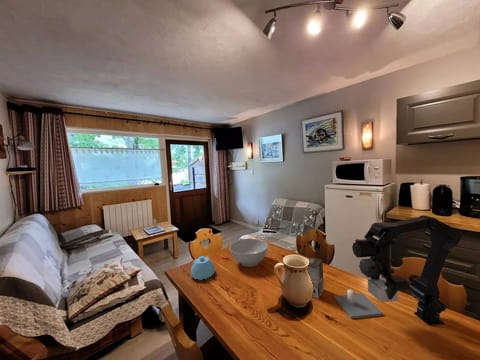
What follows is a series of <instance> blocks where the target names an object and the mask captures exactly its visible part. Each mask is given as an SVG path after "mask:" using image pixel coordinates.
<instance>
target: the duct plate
mask: <svg viewBox="0 0 480 360" xmlns="http://www.w3.org/2000/svg"><path fill="white" fill-rule="evenodd" d="M346 293H347V294H344V295H335V296H334V299H335V301H336V303H338V304H339V305H340V307H341V308H342V309H343V311H344V312H345V313H346V314H347V316H348V317H349V318H350V319H351V320H352V319H360V318H371V317H380V316H384V313H383V311H381V310H380V308H378V307H377V306H376V305H375V304H374V303H373V302H372V301H371V300H370V299H369V298H368V297H367V296H366V295H365V294H364V293H356V291H355V290H353V289H347V291H346Z"/></svg>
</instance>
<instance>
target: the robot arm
mask: <svg viewBox="0 0 480 360" xmlns="http://www.w3.org/2000/svg"><path fill="white" fill-rule="evenodd" d="M425 229H426V230H428V231H429V236H428V237H429V239H430V243H431V246H430V249H429V251H428V254H427V256H426V259H425V261H424V262H425V263H424V265H423V267H422V270H421V274H420V276H419V277H417V278H411V280H410V282H409V281H408V280H407V279H405V278H404V277H402V276H400V275H393V274H394V273H395V270H394V269H393V268H392V263H393V264H394V263H395V260H394V259H393V258H392V246H397V245H398V244H397V243H396V242H395V241H394V240H395V239H397V238H399V236H400V235H403V234H408V233H412V232H416V231H417V232H418V231H420V230H425ZM375 237H376V238H375ZM462 237H463V233H462V232H461V230H460V229H459V228H458V227H454V226H451V225H448V224H446V223H445V222H442V221H440V220H439V219H437V218H436V217H432V216H429V215H425V214H423V215H419V216H415V217H412V218H408V219H402V220H398V221H394V222H387V221H385V222H383V221H381V222H380V221H379V222H373V223H372V224H371V226H370V228H369V229H368V231H367V232H366V234H365V235H364V237H363V239H359V238H358V239H355V240H354V242H353V243H352V246H351V249H352V252H353V254H354V256H355V257H356V258H362V259H360V261H359V264H358V267H359V269H360V272H361V274H363V275H364V276H365V277H366V278H368V279H369V278H370V279H378V278H381V276H383V278H385V279H386V283H384V284H385V285H386V286H387V292H388V299H392V298H393V297H394V295H395V294H396V293H397V291H398V292H399V291H405V290H406V291H407V290H409V292H410V294H411V295H412V297H413V298H414V299H416V300H417V306H416V311H414V312H413V314H415V316H416V317H417V318H419V319H420V320H422V321H423V322H424V323H425V324H427V325H428V326H435V325H437V326H438V325H442V324H443V325H444V324H445V322H444V320H442V319H441V313H442V312H445V311H446V308H447V305H445V304H444V302H443V301H441V300H440V295H441V293H440V291H439V286H438V282H439V279H440V276H441V273H442V271H443V268H444V265H445V262H446V260H447V256H448V255H449V251H450V250H452V249H453V248H454V247H457V246H458V244H459V243H460V241H461V239H462Z"/></svg>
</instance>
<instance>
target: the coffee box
mask: <svg viewBox="0 0 480 360" xmlns="http://www.w3.org/2000/svg"><path fill="white" fill-rule="evenodd" d="M308 260H309V265H308V268H307V271H308V274H309V276H310V278H311V281H312V284H313V296H311V297H312V298H315V299H319V298H320V297H321V294H323V291H324V289H325V285H324V265H323V263H324V262H323V259H319V258H317V257H312V256H311V257H309V258H308Z"/></svg>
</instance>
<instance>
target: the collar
mask: <svg viewBox="0 0 480 360" xmlns="http://www.w3.org/2000/svg"><path fill="white" fill-rule="evenodd" d="M386 279H387V278H385V277H380V278H378V279H371V278H370V279H369V278H368V279H367V292H369V293H370V294H371V295H372V296H373V297H374V298H375V299H376V300H378V301H379V302H380V303H387V302H397V301H399V290H398V291H397V293H396V294H395V295H394V297H393V298H392V299H388V292H387V286H386V285H385V284H384V283H386Z"/></svg>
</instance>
